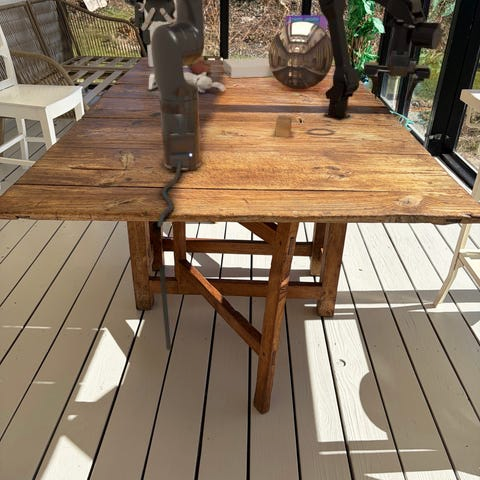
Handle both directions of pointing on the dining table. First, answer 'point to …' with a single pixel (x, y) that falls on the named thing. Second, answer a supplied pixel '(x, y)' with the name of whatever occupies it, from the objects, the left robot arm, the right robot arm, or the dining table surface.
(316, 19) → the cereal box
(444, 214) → the dining table surface
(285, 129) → the brick
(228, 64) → the disc drive
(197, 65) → the anatomical model
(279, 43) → the sphere
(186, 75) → the toy
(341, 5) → the right robot arm
